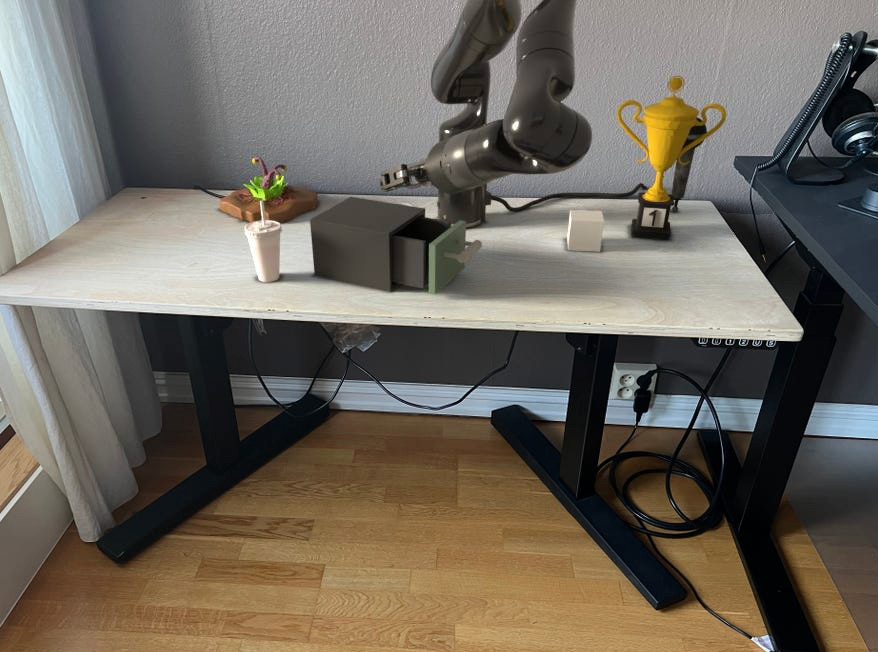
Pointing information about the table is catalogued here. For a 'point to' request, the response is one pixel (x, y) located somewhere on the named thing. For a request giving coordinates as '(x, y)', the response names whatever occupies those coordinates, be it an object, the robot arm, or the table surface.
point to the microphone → (684, 170)
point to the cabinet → (359, 240)
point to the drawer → (430, 253)
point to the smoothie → (265, 246)
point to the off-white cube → (585, 230)
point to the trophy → (664, 154)
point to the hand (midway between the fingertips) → (406, 182)
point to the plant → (269, 198)
